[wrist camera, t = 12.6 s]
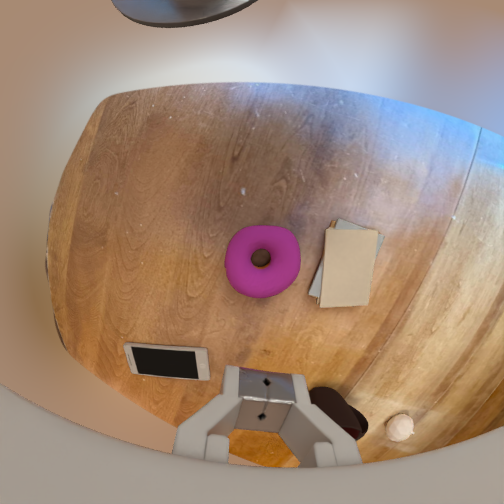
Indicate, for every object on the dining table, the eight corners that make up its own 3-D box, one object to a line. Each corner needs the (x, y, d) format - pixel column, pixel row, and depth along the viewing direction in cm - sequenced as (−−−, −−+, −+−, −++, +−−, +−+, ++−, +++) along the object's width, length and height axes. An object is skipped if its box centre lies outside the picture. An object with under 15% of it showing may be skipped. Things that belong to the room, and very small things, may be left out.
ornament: (391, 409, 53) (418, 420, 47) (397, 411, 57) (422, 421, 51) (376, 434, 51) (403, 447, 45) (384, 434, 55) (409, 445, 49)
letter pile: (326, 214, 39) (329, 216, 38) (386, 229, 40) (392, 233, 38) (302, 299, 44) (304, 305, 42) (360, 308, 44) (364, 314, 42)
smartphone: (210, 377, 48) (210, 381, 47) (132, 370, 48) (131, 373, 47) (207, 347, 46) (206, 350, 45) (124, 341, 46) (122, 344, 45)
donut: (300, 223, 40) (306, 231, 36) (294, 289, 43) (299, 303, 39) (226, 221, 40) (223, 228, 35) (226, 288, 43) (223, 302, 39)
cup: (308, 375, 49) (320, 424, 37) (367, 384, 50) (386, 427, 39) (287, 408, 51) (293, 454, 40) (344, 415, 53) (357, 456, 42)
